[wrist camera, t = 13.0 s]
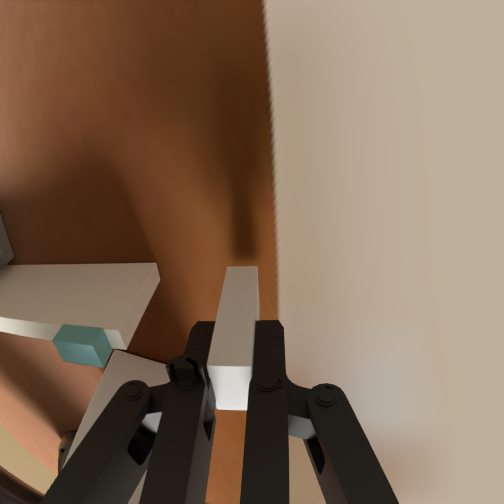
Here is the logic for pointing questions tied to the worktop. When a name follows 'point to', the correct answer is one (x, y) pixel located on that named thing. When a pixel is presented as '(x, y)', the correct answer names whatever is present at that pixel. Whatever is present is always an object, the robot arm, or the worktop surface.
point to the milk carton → (112, 379)
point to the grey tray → (4, 246)
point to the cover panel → (77, 305)
